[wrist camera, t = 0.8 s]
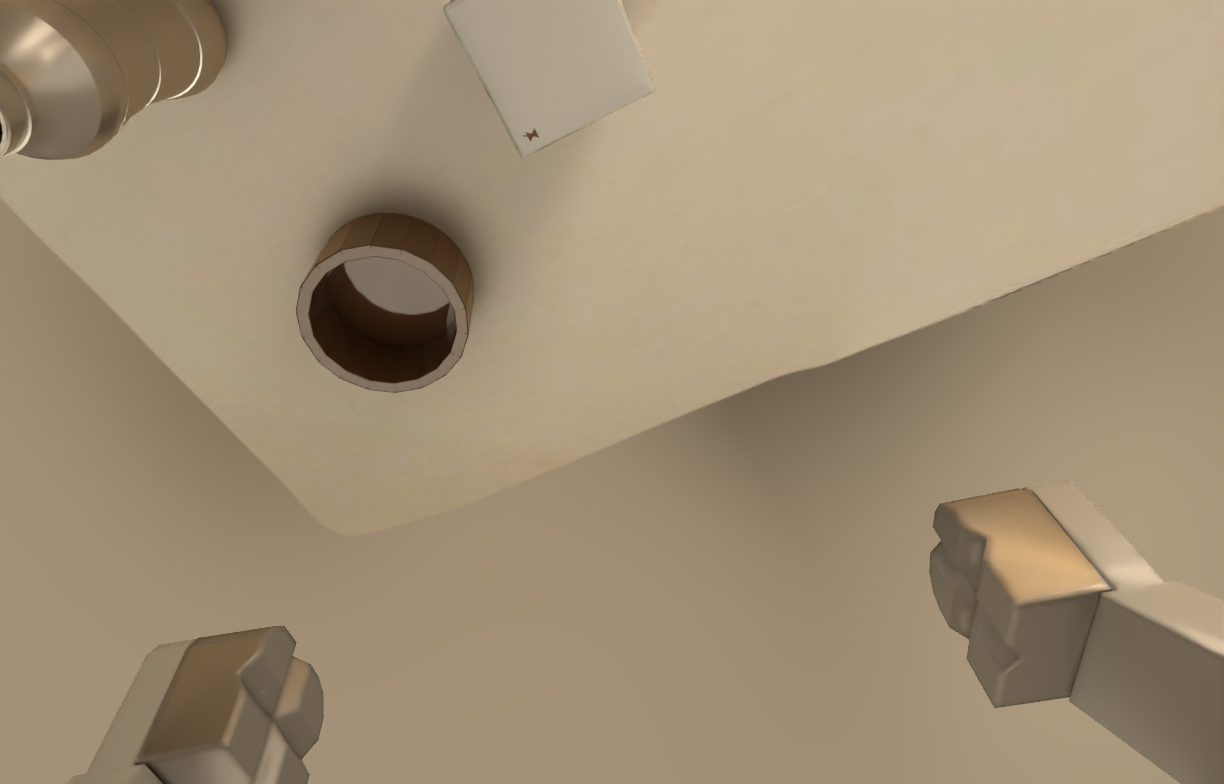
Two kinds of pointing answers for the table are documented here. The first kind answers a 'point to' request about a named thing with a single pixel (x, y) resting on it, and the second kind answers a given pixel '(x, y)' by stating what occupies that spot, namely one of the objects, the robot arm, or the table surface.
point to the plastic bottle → (97, 68)
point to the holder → (387, 303)
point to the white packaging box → (551, 63)
